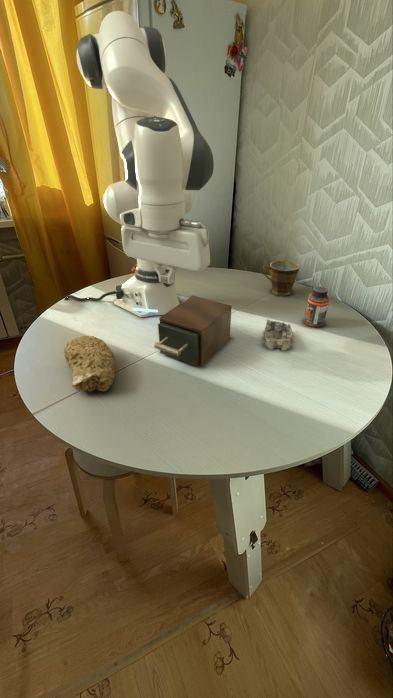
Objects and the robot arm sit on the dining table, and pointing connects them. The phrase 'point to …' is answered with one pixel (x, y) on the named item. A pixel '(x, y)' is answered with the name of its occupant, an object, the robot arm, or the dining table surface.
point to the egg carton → (277, 335)
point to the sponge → (90, 363)
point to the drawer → (178, 343)
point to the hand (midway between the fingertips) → (166, 282)
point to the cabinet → (203, 323)
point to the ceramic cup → (282, 276)
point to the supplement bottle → (317, 307)
